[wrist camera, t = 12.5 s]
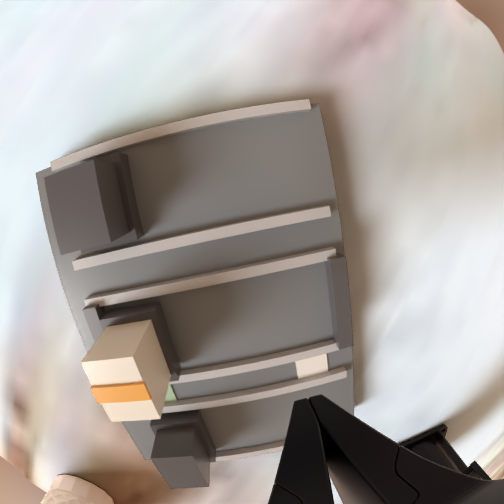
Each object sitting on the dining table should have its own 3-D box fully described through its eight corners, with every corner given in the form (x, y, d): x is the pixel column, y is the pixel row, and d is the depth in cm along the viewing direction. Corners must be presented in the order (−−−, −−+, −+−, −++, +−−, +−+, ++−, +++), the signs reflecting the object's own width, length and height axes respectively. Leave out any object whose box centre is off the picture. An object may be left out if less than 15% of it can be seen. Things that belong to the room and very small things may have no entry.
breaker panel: (309, 107, 15) (344, 78, 10) (347, 413, 20) (372, 461, 15) (48, 170, 15) (-6, 170, 10) (149, 447, 19) (138, 497, 14)
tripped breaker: (159, 301, 15) (135, 348, 10) (181, 367, 16) (169, 427, 11) (106, 310, 15) (69, 356, 10) (131, 374, 16) (108, 429, 11)
